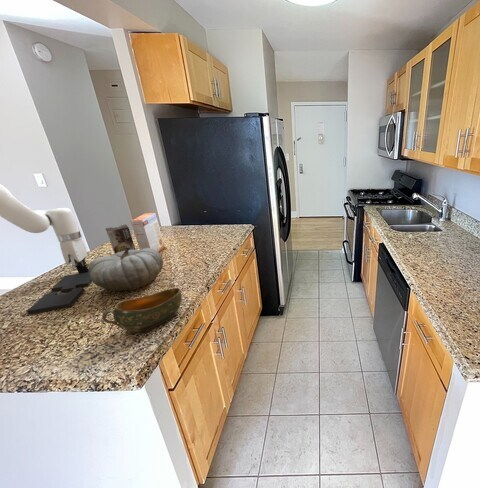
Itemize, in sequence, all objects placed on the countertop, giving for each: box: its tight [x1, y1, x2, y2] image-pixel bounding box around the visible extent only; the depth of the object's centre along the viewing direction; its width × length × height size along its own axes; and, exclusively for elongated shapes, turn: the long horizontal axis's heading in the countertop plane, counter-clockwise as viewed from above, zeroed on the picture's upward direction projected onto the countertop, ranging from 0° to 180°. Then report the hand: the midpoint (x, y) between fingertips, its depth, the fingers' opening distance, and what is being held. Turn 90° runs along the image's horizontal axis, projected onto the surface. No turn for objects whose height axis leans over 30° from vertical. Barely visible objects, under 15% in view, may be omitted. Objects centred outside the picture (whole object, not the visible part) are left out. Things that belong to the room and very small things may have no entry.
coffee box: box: [105, 224, 137, 254], centre depth 136 cm, size 9×6×16 cm
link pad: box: [50, 272, 93, 294], centre depth 113 cm, size 12×14×2 cm
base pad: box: [26, 287, 85, 315], centre depth 100 cm, size 12×12×2 cm
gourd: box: [88, 247, 164, 291], centre depth 109 cm, size 25×25×17 cm
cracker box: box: [130, 212, 166, 253], centre depth 139 cm, size 14×6×21 cm, turn 6°
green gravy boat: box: [101, 287, 182, 334], centre depth 87 cm, size 13×20×10 cm, turn 111°
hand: (84, 273), depth 120 cm, fingers closed
